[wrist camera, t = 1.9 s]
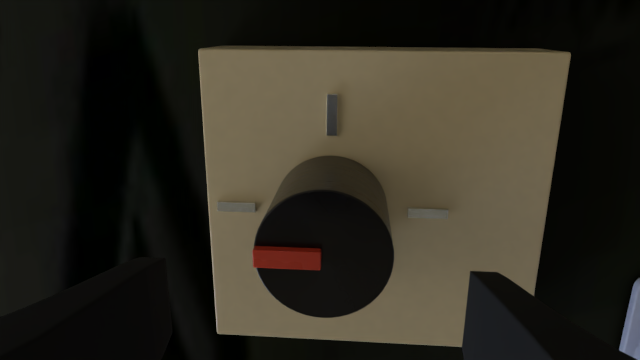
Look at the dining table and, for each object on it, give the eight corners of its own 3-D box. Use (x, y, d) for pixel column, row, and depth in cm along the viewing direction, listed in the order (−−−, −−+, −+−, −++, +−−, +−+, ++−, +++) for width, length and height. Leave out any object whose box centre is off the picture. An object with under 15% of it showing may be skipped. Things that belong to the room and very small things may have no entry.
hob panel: (539, 48, 18) (574, 52, 15) (504, 308, 21) (527, 353, 18) (221, 45, 19) (195, 48, 16) (234, 295, 22) (215, 337, 19)
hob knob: (390, 156, 17) (399, 196, 13) (384, 262, 18) (391, 327, 14) (273, 153, 17) (248, 191, 13) (276, 258, 18) (253, 321, 14)
